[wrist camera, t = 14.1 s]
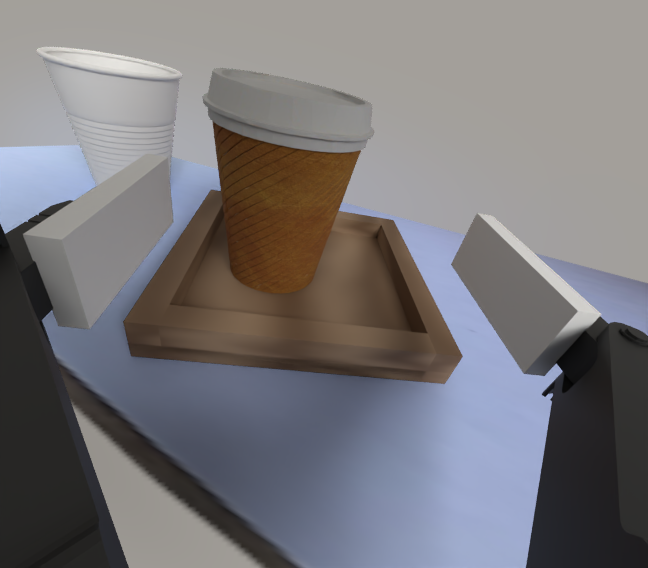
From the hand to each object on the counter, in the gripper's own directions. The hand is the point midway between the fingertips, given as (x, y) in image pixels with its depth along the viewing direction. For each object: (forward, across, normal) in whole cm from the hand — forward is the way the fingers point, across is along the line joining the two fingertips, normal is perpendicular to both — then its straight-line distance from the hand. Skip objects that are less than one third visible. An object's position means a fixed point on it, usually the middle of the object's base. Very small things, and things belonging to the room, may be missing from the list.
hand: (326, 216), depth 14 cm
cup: (+19, -17, -9) cm, 27 cm away
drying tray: (+8, 0, -9) cm, 12 cm away
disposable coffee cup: (+8, -2, -8) cm, 11 cm away
